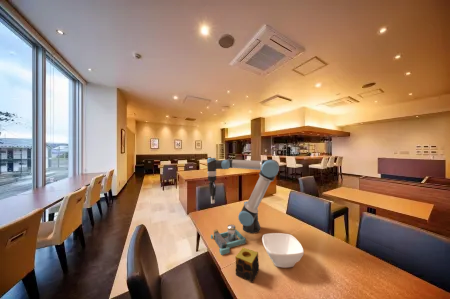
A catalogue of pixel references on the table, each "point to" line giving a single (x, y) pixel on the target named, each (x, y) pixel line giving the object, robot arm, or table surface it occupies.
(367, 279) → the table surface
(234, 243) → the dock cradle
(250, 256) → the candle
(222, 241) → the lock pin
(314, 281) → the table surface
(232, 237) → the spigot
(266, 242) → the bowl
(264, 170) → the robot arm
